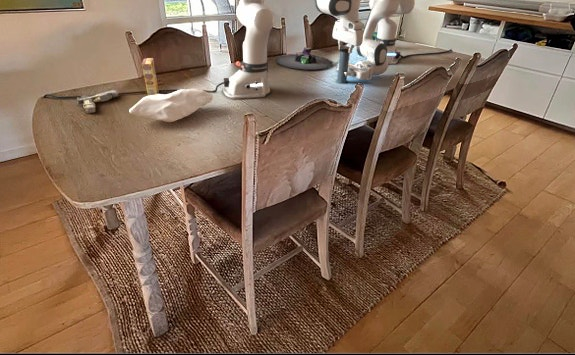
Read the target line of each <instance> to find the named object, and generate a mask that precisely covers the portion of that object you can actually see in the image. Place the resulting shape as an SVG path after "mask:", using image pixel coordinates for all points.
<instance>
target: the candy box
mask: <svg viewBox="0 0 575 355" xmlns="http://www.w3.org/2000/svg"><path fill="white" fill-rule="evenodd" d="M141 66H142V73H143V78H144V82H145V87H146V91H147V93H146V94H147V96H150V95H156V94H159V93H160V92H159V91H158V90H159V84H158V79H157V73H156V66H155V62H154V58H153V57H151V58H150V57H149V58H146V57H145V58H143V60H142V63H141Z"/></svg>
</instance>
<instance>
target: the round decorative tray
mask: <svg viewBox="0 0 575 355" xmlns="http://www.w3.org/2000/svg"><path fill="white" fill-rule="evenodd" d="M275 62H276V63H277V64H278V65H280V66H282V67H287V68H291V69H296V70H297V69H298V70H306V71H307V70H308V71H309V70H323V69H327V68H330V67H332V66H333V64H334V63H333V61H332V60H329V59H328V58H326V57H320V56H317V55H314V54H312V48H311V47H307V46H305V47H304V48H303V49H302V52H301V53H298V52H296V53H295V54H289V55H283V56H278V57H276V59H275Z"/></svg>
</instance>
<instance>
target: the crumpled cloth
mask: <svg viewBox="0 0 575 355" xmlns="http://www.w3.org/2000/svg"><path fill="white" fill-rule="evenodd" d="M204 90H205V89H201V88H187V89H186V88H183V89H181V90H177V91H172V92H171V93H167V94H163V93H158V94H156V95H150V96H148V95H146V96H144V97H142V98H141V99H140V100H139V101H138V102H137V103H136V104H134V105H133V106H132V107H131V108H129V114H130V115H135V116H140V117H145V118H146V119H149V120H152V121H155V120H158V121H163V122H166V123H174V122H176V121H178V120H181V119H183V118H185V117H188V116H190V115H192V114H193V113H195V112H196V111H197V110H199V109H200V108H202V107H204V106H206V105H207V104H210V102H211V101H212V100H213V99H214V98H213V97H214V96H213V94H212V93H211V92H206V91H207V90H206V91H204Z"/></svg>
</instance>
